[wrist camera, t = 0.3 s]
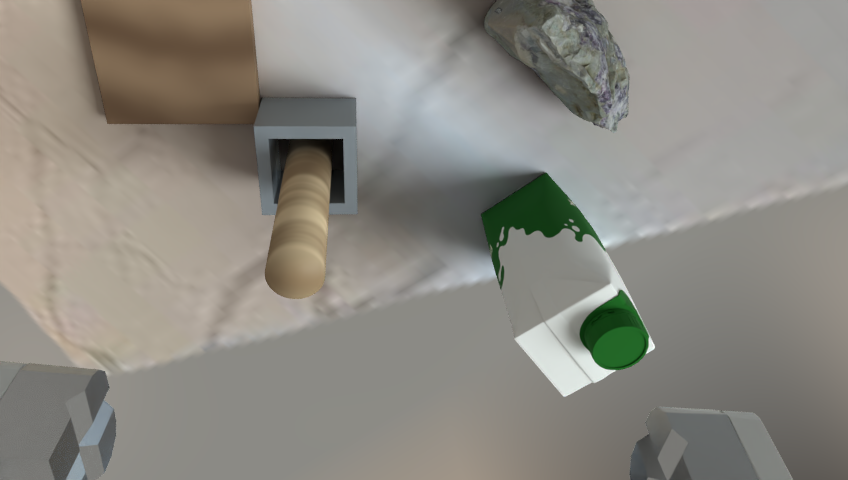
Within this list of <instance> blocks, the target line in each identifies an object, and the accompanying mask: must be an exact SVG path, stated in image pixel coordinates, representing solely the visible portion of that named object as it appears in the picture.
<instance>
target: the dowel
mask: <svg viewBox="0 0 848 480" xmlns="http://www.w3.org/2000/svg"><path fill="white" fill-rule="evenodd" d="M332 151H333V139H290V142H289V147H288V152H287V158H286V163H285V168H284V173H283V179H282V184H281V189H280V195H279V200H278V205H277V210H276V216H275V221H274V226H273V231H272V237H271V242H270V247H269V253H268V258H267V263H266V268H265V279H266V282H267V284H268V285H269V287H270V288H271V289H272V290H273V291H274V292H275V293H277V294H279V295H281V296H283V297H286V298H291V299H301V298H306V297H309V296H311V295H313V294H315V293H316V292H317V291H318V290H319V289H320V288H321V287H322V285H323V283H324V280H325V268H326V251H327V234H328V218H329V201H330V184H331V168H332Z"/></svg>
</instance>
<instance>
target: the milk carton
mask: <svg viewBox="0 0 848 480" xmlns="http://www.w3.org/2000/svg"><path fill="white" fill-rule="evenodd" d="M481 217H482V220H483V225H484V229H485V233H486V237H487V242H488V246H489V250H490V254H491V258H492V262H493V265H494V269H495V272H496V276H497V279H498V282H499V285H500V289H501V291H502V295H503V299H504V302H505V305H506V309H507V312H508V315H509V319H510V322H511V324H512V330H513V334H514V339H515V341H516V342H517V343H518V344H519V345H520V346H521V348H522V349H523V350H524V351H525V352H526V353H527V355H528V356H529V357H530V358H531V359H532V360H533V361H534V363H535V364H536V365H537V366H538V367H539V369H540V370H541V371H542V372H543V373H544V374H545V376H546V377H547V378H548V379H549V380H550V381H551V383H552V384H553V385H554V386H555V387H556V388H557V390H558V391H559V392H560V393H561V394H562V395H563V397H566V396H567V395H569V394H571V393H573V392H575V391H577V390H579V389H580V388H582V387H584V386H586V385H588V384H589V383H591V382H594V383H596V382H597V381H600V380H601V379H603V378H605V377H606V376H607V375H609V374H611V373H612V372H614V371H616V370H621V369H625V368H628V367H631V366H632V365H634V364H636V363H637V362H639V361H640V360H641V359H642V358H643V357H644V355H645V354H646V353H648V352H650V351H652V350H653V349H655V345H654V343H653V341H652V339H651V337H650V335H649V333H648V331H647V329H646V327H645V325H644V323H643V321H642V319H641V317H640V315H639V313H638V311H637V309H636V307H635V305H634V303H633V300H632V298H631V296H630V295H629V292H628V290H627V289H626V287H625V285H624V283H623V281H622V279H621V277H620V275H619V273H618V272H617V270H616V268H615V266H614V264H613V262H612V261H611V259H610V257H609V256H608V254H607V252H606V250H605V248H604V247H603V245H602V243H601V241H600V240H599V238H598V236H597V234H596V233H595V231H594V229H593V228H592V226H591V225H590V224H589V222H588V221H587V220H586V219H585V217H584V216H583V214H582V213H581V212H580V210H579V209H578V208H577V207H576V205H575V204H574V203H573V202H572V201H571V200H570V199H569V197H568V196H567V195H566V194H565V193H564V192H563V191H562V190H561V188H560V187H559V186H558V185H557V184H556V183H555V182H554V181H553V180H552V178H551V177H550V176H549V175H548V174H547V173H545V174H543V175H542V176H540V177H538V178H537V179H535V180H534V181H532V182H531V183H529V184H527V185H526V186H524V187H523V188H521V189H520V190H518V191H517V192H515V193H513V194H512V195H510V196H509V197H507V198H506V199H504V200H502V201H501V202H499V203H498V204H496V205H495V206H493V207H492V208H490V209H488V210H487V211H485V212H484V213H482V214H481Z"/></svg>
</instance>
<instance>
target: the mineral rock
mask: <svg viewBox="0 0 848 480" xmlns="http://www.w3.org/2000/svg"><path fill="white" fill-rule="evenodd" d="M484 27H485V30H486V32H487V33H488V34H489V35H490V36H492V37H493V38H494V39H495V40H496V41H497V42H498V43H499V44H500V45H502V47H503V48H504V49H505V50H506V51H507V52H508V54H509V55H511V56H513V57H514V58H516V59H518V60H520V61H522V62H523V63H524V64H526V65H527V66H528V67H530V68H531V69H533V70H534V71H535V72H536V74H537V75H538V76H539V77H540V78H541V79H542V80H543V81H544V82H545V83H546V84H547V85H548V86H549V88H550V90H552V91H553V92H554V94H555V95H556V96H557V97H558V98H560V100H561V101H562V102H563V103H564V104H565V106H566V107H567V108H568V109H569V110H570V111H571V112H572V113H573V114H575V115H577V116H578V117H580V118H582V119H584V120H586V121H589V122H592V123H593V124H594V125H597V126H600V127H601V128H606V129H608V130H610V131H612V132H613V133H615V132H616V131H617V125H618V121H619V120H621V119H622V118H625V117H627V115H628V90H629V78H630V77H629V73H628V70H627V68H626V64H625V59H624V57H623V55H622V53H621V50H620V48H619V47H618V45H617V44H616V42H615V39H614V37H613V36H612V35H611V33H610V32H609V30H608V23H607V21H606V20H605V18H604V17H603V15H601V14H600V13H599V12H598V11H597V10H596V8H595V6H594V3H593V1H592V0H497V1H496V2H495V3H494V4H493V6H492V7H491V8H490V9H489V11H488V13H487V15H486V17H485V20H484Z"/></svg>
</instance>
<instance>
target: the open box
mask: <svg viewBox="0 0 848 480" xmlns="http://www.w3.org/2000/svg"><path fill="white" fill-rule="evenodd" d="M254 136H255V146H256V156H257V166H258V177H259V187H260V197H261V207H262V215H276V210H277V205H278V200H279V195H280V189H281V184H282V179H283V173H284V170H281V168H280V156H279V143H278V139H343V150H344V170H331V184H330V201H329V214H358V210H357V134H356V98H262V101H261V104H260V107H259V110H258V114H257V117H256V120H255V123H254Z"/></svg>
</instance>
